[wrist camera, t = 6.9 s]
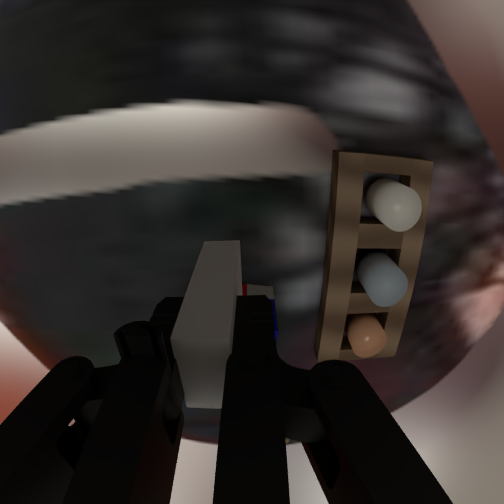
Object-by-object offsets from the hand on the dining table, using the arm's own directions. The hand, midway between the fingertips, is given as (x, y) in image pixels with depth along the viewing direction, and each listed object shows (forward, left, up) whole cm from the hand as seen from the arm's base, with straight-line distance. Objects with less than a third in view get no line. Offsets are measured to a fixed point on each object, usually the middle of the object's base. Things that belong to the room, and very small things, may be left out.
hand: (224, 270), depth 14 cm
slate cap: (+10, +16, -22) cm, 29 cm away
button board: (+10, +16, -25) cm, 31 cm away
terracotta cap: (+19, +16, -24) cm, 35 cm away
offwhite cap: (+1, +16, -22) cm, 27 cm away
